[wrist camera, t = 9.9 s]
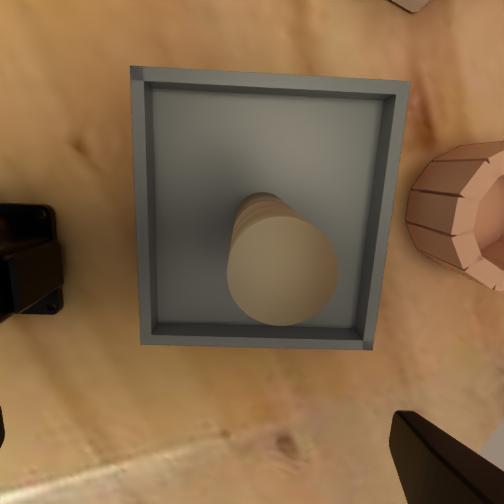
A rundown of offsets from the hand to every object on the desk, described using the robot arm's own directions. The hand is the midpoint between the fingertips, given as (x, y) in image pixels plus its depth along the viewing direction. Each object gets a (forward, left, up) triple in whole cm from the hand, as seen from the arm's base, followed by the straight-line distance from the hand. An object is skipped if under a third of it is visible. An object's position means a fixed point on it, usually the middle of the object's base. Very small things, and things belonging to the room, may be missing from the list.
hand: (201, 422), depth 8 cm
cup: (+14, +4, -13) cm, 20 cm away
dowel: (+2, +3, -12) cm, 13 cm away
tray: (+2, +3, -13) cm, 13 cm away
